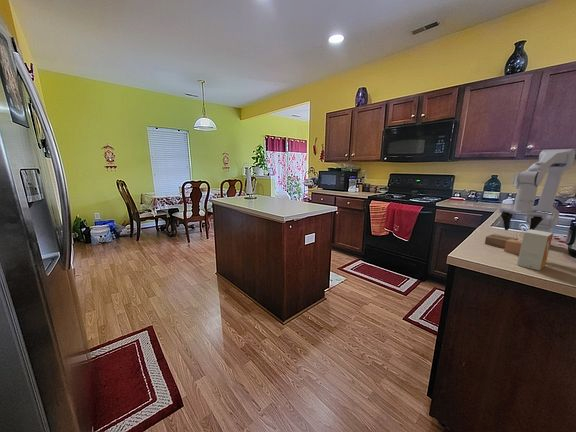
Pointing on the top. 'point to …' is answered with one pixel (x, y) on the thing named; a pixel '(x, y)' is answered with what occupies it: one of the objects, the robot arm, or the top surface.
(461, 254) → the top surface
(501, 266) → the top surface
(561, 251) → the top surface
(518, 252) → the terracotta cube
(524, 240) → the small box
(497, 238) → the walnut block
